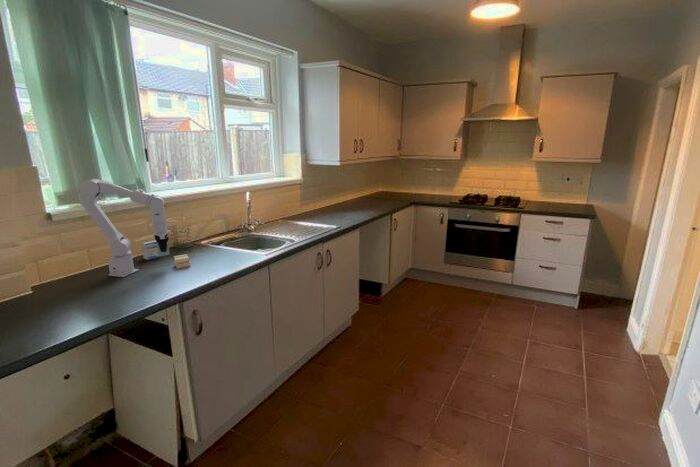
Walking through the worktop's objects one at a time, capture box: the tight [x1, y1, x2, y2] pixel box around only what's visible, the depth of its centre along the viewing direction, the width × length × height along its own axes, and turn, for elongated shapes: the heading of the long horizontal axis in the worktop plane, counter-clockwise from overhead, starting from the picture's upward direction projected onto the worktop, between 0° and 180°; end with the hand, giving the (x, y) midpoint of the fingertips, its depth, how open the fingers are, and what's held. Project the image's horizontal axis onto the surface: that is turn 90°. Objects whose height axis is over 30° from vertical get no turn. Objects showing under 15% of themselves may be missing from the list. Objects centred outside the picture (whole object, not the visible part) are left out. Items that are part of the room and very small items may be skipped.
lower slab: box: [174, 261, 191, 269], centre depth 181 cm, size 6×6×2 cm
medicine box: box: [141, 239, 163, 261], centre depth 192 cm, size 8×4×9 cm, turn 143°
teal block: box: [157, 242, 171, 257], centre depth 175 cm, size 4×4×6 cm
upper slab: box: [173, 254, 190, 265], centre depth 180 cm, size 6×6×2 cm
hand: (163, 250), depth 175 cm, fingers closed on teal block, 4 cm apart
